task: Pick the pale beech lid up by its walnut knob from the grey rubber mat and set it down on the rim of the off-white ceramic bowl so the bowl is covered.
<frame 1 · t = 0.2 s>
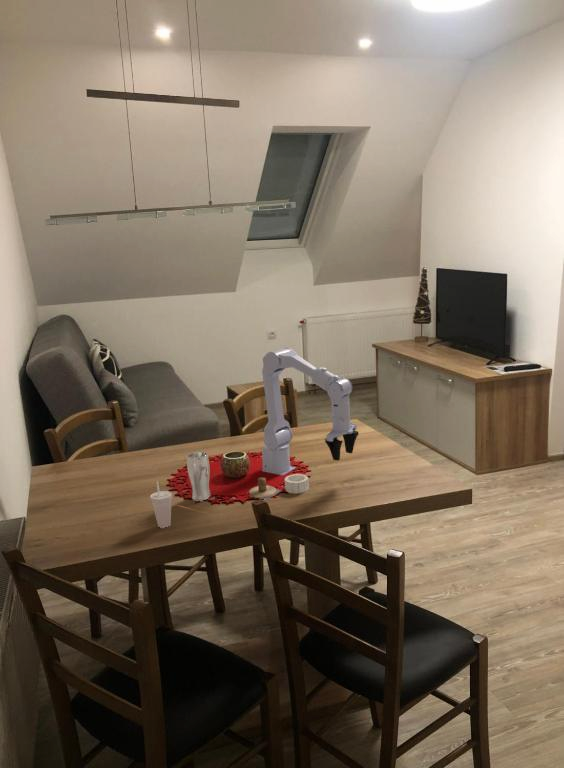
hand: (342, 456, 207), 10 cm above the table, tool pointing down, fingers open, 7 cm apart
bowl: (297, 489, 208), on the table
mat: (262, 493, 207), on the table
lid: (262, 492, 207), resting on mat
beer glass: (201, 499, 206), on the table
smoothie: (164, 526, 189), on the table
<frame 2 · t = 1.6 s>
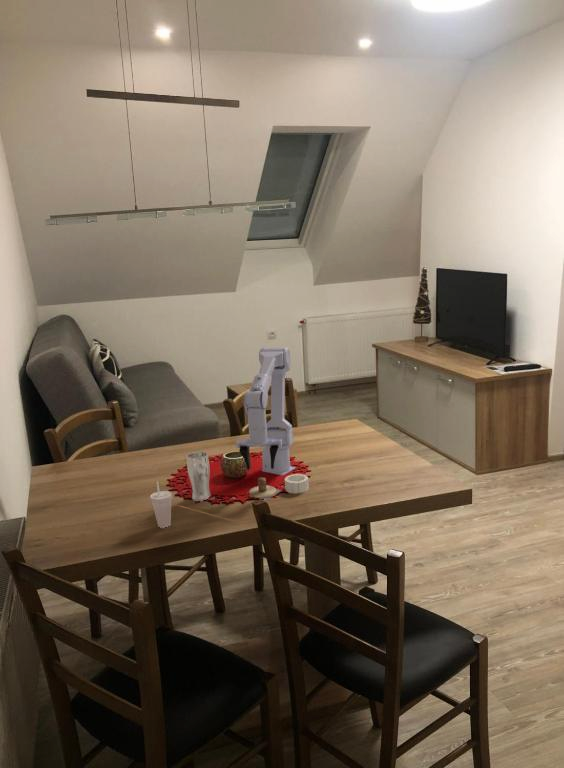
hand: (260, 467, 205), 9 cm above the table, tool pointing down, fingers open, 7 cm apart
nothing on the table moved.
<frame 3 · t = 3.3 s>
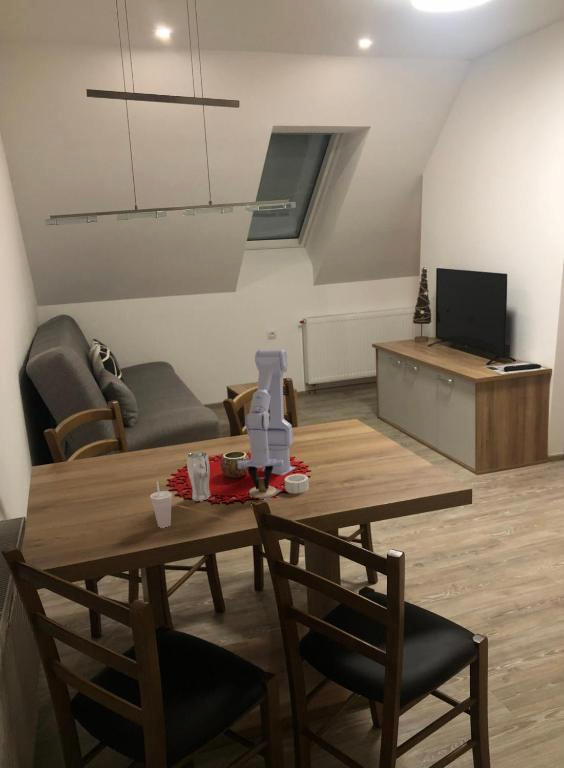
hand: (262, 488, 206), 2 cm above the table, tool pointing down, fingers closed on lid, 3 cm apart
lid: (262, 492, 207), resting on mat, touching gripper
everything else where it was.
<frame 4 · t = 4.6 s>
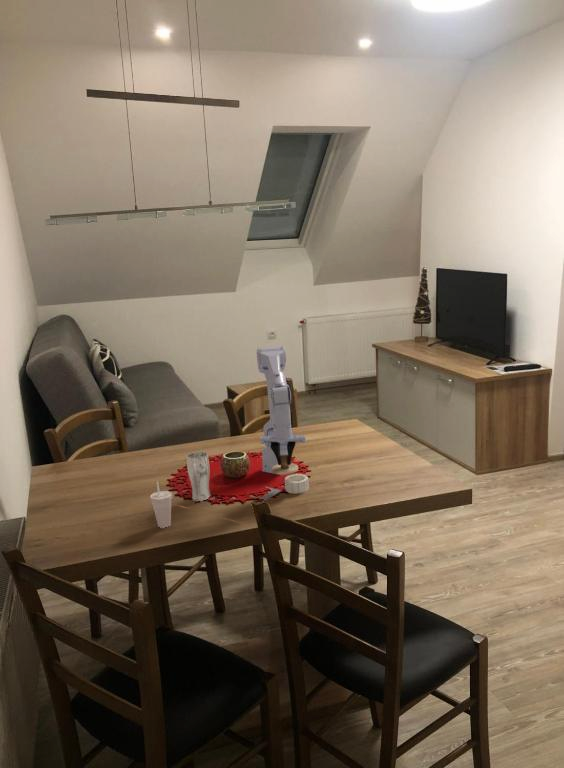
hand: (284, 464, 206), 9 cm above the table, tool pointing down, fingers closed on lid, 3 cm apart
lid: (285, 469, 206), point 7 cm above the table, touching gripper
everything else where it was.
when the fingers open (7 cm above the table, at t = 6.0 s): lid stays where it is, resting on bowl.
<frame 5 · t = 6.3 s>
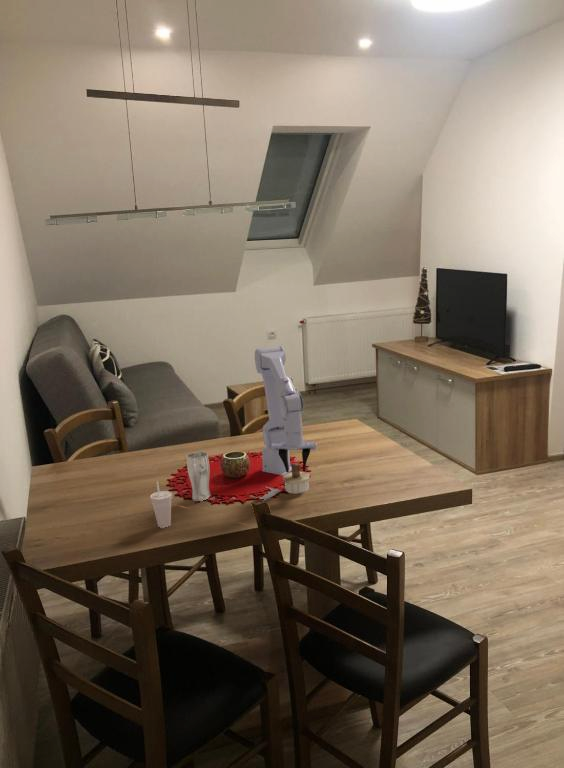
hand: (295, 470, 207), 7 cm above the table, tool pointing down, fingers open, 5 cm apart
lid: (296, 478, 207), point 4 cm above the table, touching bowl
everything else where it was.
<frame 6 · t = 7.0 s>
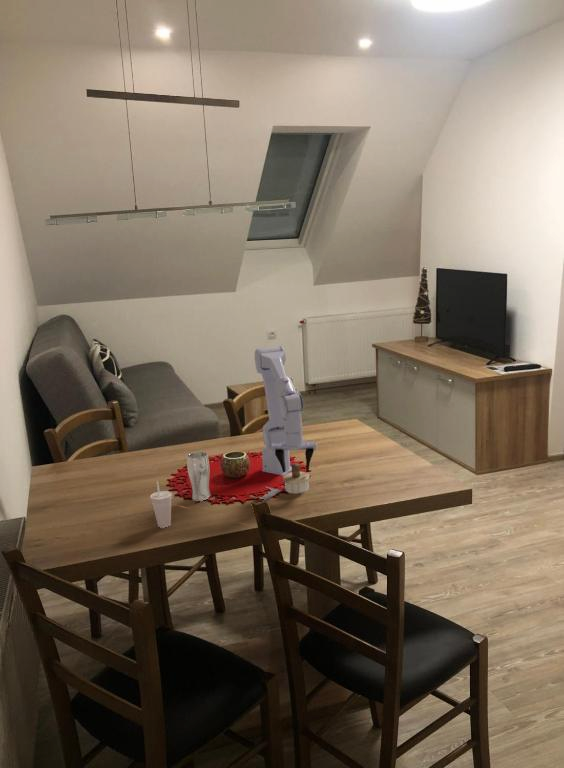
hand: (295, 470, 207), 7 cm above the table, tool pointing down, fingers open, 7 cm apart
nothing on the table moved.
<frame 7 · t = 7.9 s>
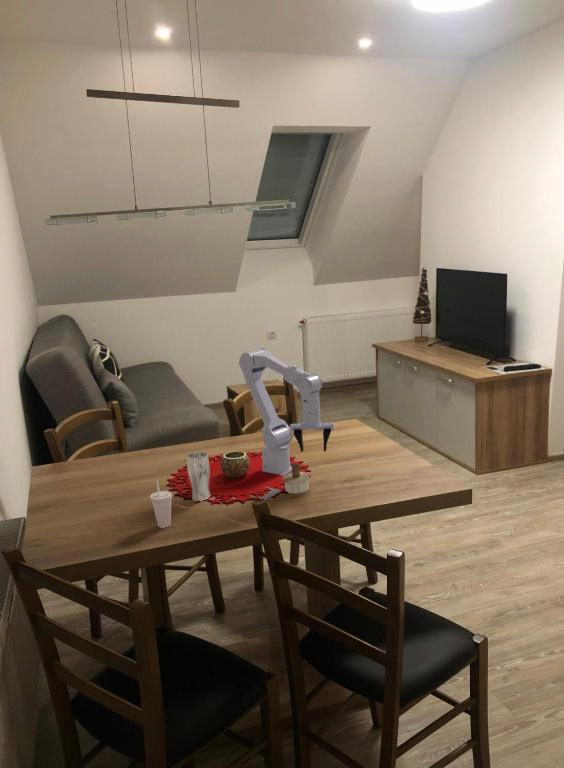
hand: (313, 450, 213), 10 cm above the table, tool pointing down, fingers open, 7 cm apart
nothing on the table moved.
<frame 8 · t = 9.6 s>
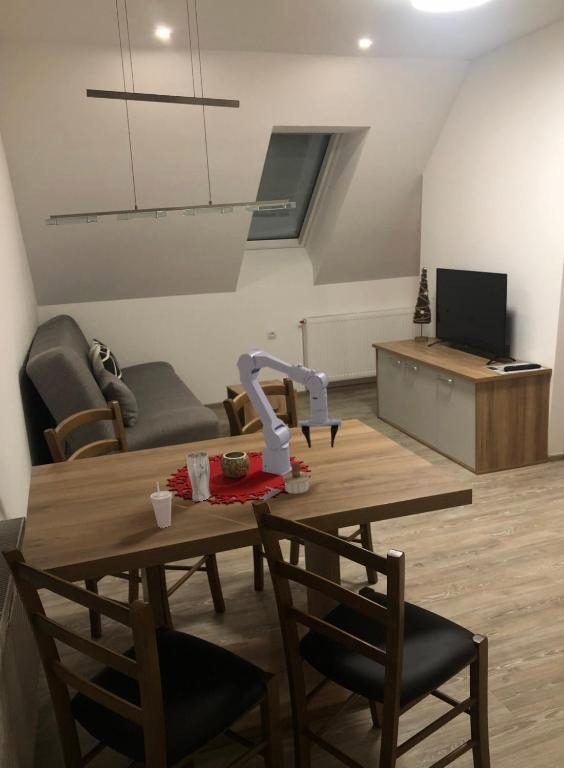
hand: (321, 446, 217), 10 cm above the table, tool pointing down, fingers open, 7 cm apart
nothing on the table moved.
at the end: lid 0.2 cm off-centre on the bowl, point 4.0 cm above the bowl's base; lid tilted 0°; the gripper is holding nothing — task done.
